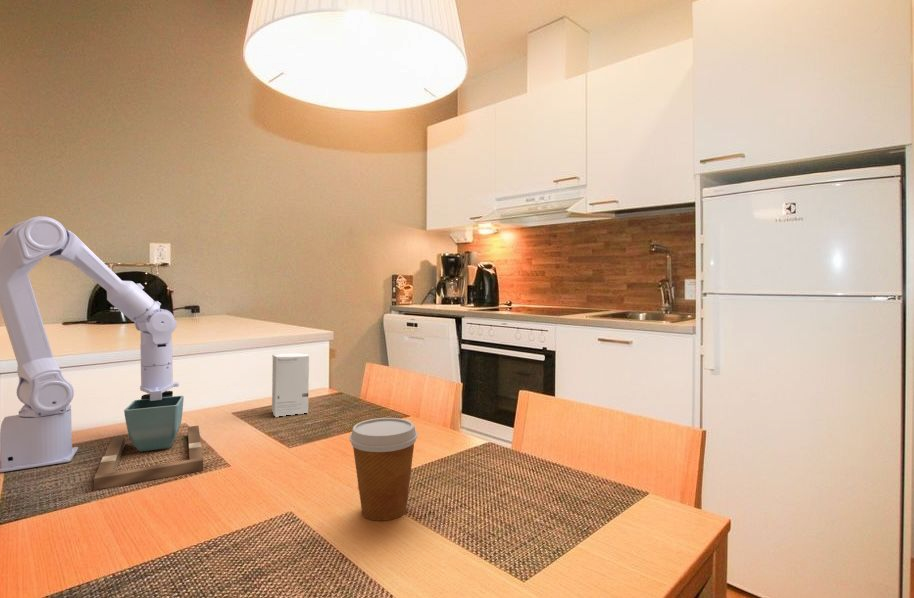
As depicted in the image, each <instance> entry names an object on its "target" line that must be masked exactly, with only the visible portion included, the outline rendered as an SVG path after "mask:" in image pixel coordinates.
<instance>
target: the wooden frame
mask: <svg viewBox="0 0 914 598" xmlns="http://www.w3.org/2000/svg"><path fill="white" fill-rule="evenodd" d="M200 433H201V432H200V427H199V425H192V426H187V442H188V459H186V460H185V459H184V460H180V461H174V462H168V463H167V462H166V463H162V464H161V463H160V464H157V465H156V464H155V465H149V466H145V467H138V468H132V469H125V470H120V471H117V468H118V465H119V462H120V460H121V458H122V455H121V454H123V452H124V449H125V446H126V436H125V435H118V436H112V438H111V440H110V442H109V444H108V446H107V448H106V451H105V453H104V456H102V458H101V460H100V463H99V465H98V466H99V467H98V469H97V470H96V473H95V475H94V477H93V491H98V490H102V489H109V488H114V487H119V486H124V485H130V484H135V483H143V482H147V481H151V480H153V481H154V480H159V479H163V478H168V477H175V476H181V475H185V474H192V473H196V472H202V471H204V457H203V449H202V442H201V441H202V440H201V435H200ZM124 445H125V446H124ZM123 448H124V449H123ZM122 451H123V452H122Z"/></svg>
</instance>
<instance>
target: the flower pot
mask: <svg viewBox="0 0 914 598" xmlns="http://www.w3.org/2000/svg"><path fill="white" fill-rule="evenodd" d="M184 398H185V397H184V395H173V396H172V397H162V400H155V401H150V399H141V398H140V399H135V400H133V401H132V402H131V403H130V404H129V405H128V406H127V407H126V408H125V409H124V410H123V413H124V417H125V418H124V419H125V425H126V430H127V434H128V437H129V439H130V442H131V443H132V445H133V446H134V447H135V448H136V449H137V451H139V452H142V453H143V451H144V452H149V451H157V450H166V449H169V448H171V446H172V445H173V443H174V442H175V441H174V440H175V439H176V437H177V435H178V433H179V430H180V426H181V423H182V419H183V409H184V408H183V407H184Z"/></svg>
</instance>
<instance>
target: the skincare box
mask: <svg viewBox="0 0 914 598" xmlns="http://www.w3.org/2000/svg"><path fill="white" fill-rule="evenodd" d="M271 373H272V374H271V375H272V376H271V377H272V379H271V380H272V381H271V382H272V383H271V384H272V386H271V388H272V389H271V393H272V394H271V412H273V413H272V414H273V417H274V416H275V417H274V418H280V417H279V416H283V417H287V416H286V415H291V416H296V415H295V414H298V415H305V414H304V413H307V414H309V388H310V384H309V379H310V378H309V376H310V355H309V354H307V353H279V354H272V372H271Z"/></svg>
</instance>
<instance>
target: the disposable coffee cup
mask: <svg viewBox="0 0 914 598" xmlns="http://www.w3.org/2000/svg"><path fill="white" fill-rule="evenodd" d="M418 434H419V433H418V431H417V430H416V428H415V423H414V422H412V421H410V420H407V419H404V418H398V417H377V418H371V419H367V420H362V421H360V422H357V423H356V424H355V425H353V427H352V430H351V434H350V435H349V438H348V439H349V442H350V443H351V445H352V448H353V456H354V463H355V471H356V477H357V485H358V486H357V487H358V493H359V500H360V507H361V514H362V516H363V517H364V518H367V519H369V520H372V521H379V522H380V521H381V522H384V521H390V520H395V519H397V518H399V517H401V516H402V515H404V514H405V513H406V512H407V507H408V506H407V505H408V498H409V491H410V482H411V475H412V467H413V464H412V463H413V457H414V449H415V448H414V447H415V446H414V445H415V443H416V441H417V439H418Z"/></svg>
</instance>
